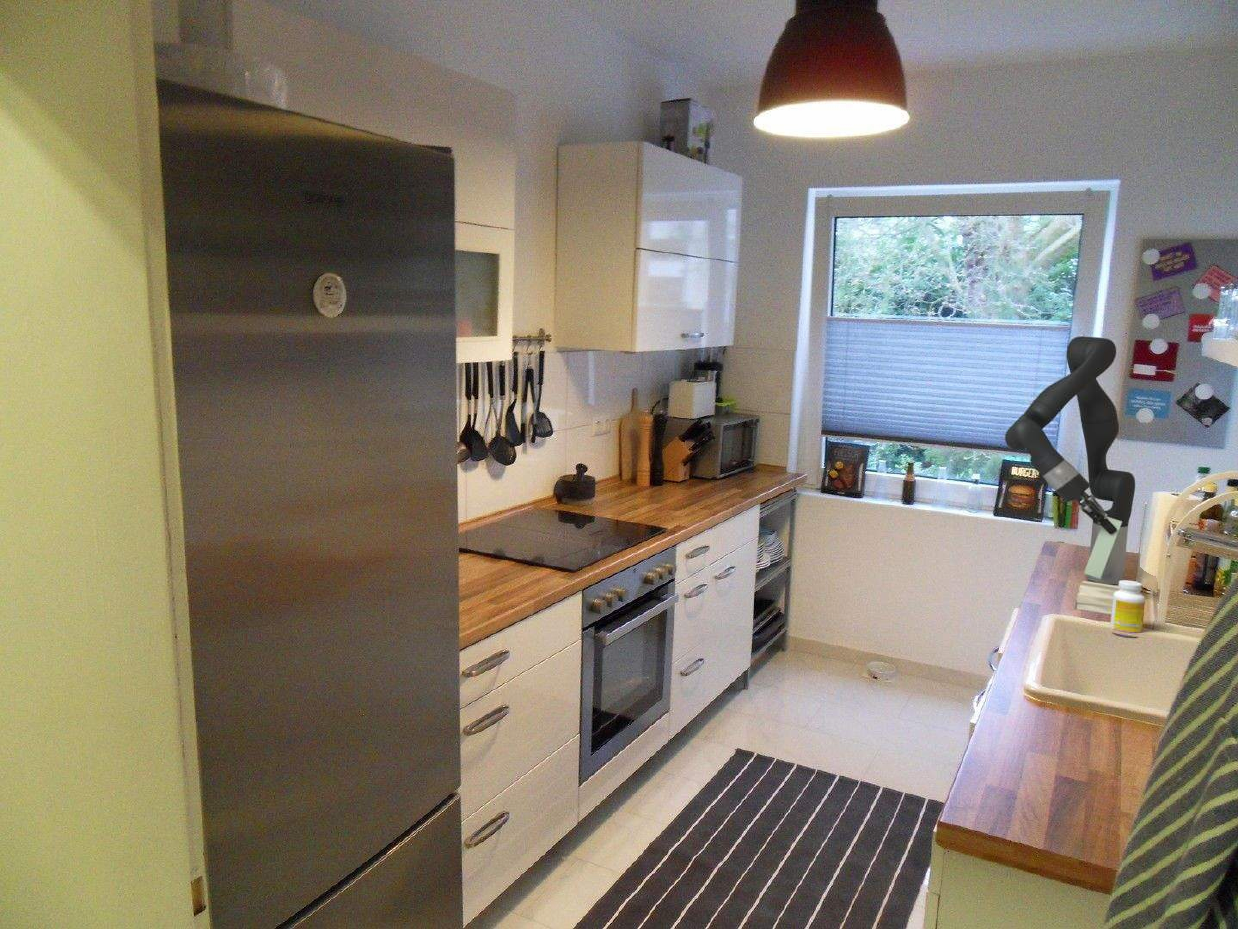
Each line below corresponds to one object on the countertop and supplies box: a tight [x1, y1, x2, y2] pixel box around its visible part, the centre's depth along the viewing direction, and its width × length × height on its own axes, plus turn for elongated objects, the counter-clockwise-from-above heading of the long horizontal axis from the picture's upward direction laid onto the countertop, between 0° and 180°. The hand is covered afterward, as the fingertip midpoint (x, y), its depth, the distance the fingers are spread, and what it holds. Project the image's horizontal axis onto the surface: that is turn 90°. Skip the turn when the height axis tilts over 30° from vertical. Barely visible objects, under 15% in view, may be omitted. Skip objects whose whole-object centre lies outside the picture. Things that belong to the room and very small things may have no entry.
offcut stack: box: [1076, 580, 1120, 615], centre depth 224 cm, size 7×10×6 cm
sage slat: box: [1083, 517, 1122, 579], centre depth 228 cm, size 2×4×16 cm, turn 57°
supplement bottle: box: [1109, 579, 1146, 639], centre depth 207 cm, size 7×7×13 cm
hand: (1114, 531), depth 227 cm, fingers closed on sage slat, 1 cm apart
